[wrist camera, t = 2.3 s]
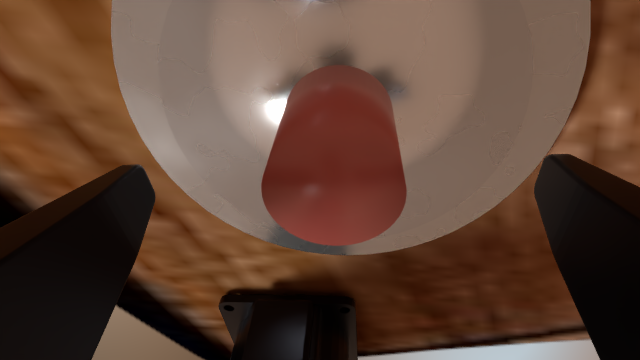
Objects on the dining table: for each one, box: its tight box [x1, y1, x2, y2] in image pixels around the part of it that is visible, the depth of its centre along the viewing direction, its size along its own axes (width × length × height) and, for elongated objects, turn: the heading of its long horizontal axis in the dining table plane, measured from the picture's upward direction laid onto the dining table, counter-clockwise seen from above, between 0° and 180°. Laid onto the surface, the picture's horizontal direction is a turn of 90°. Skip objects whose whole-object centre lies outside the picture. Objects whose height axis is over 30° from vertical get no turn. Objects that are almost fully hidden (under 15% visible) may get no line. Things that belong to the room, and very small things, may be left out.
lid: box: [111, 0, 591, 255], centre depth 10 cm, size 13×13×5 cm
